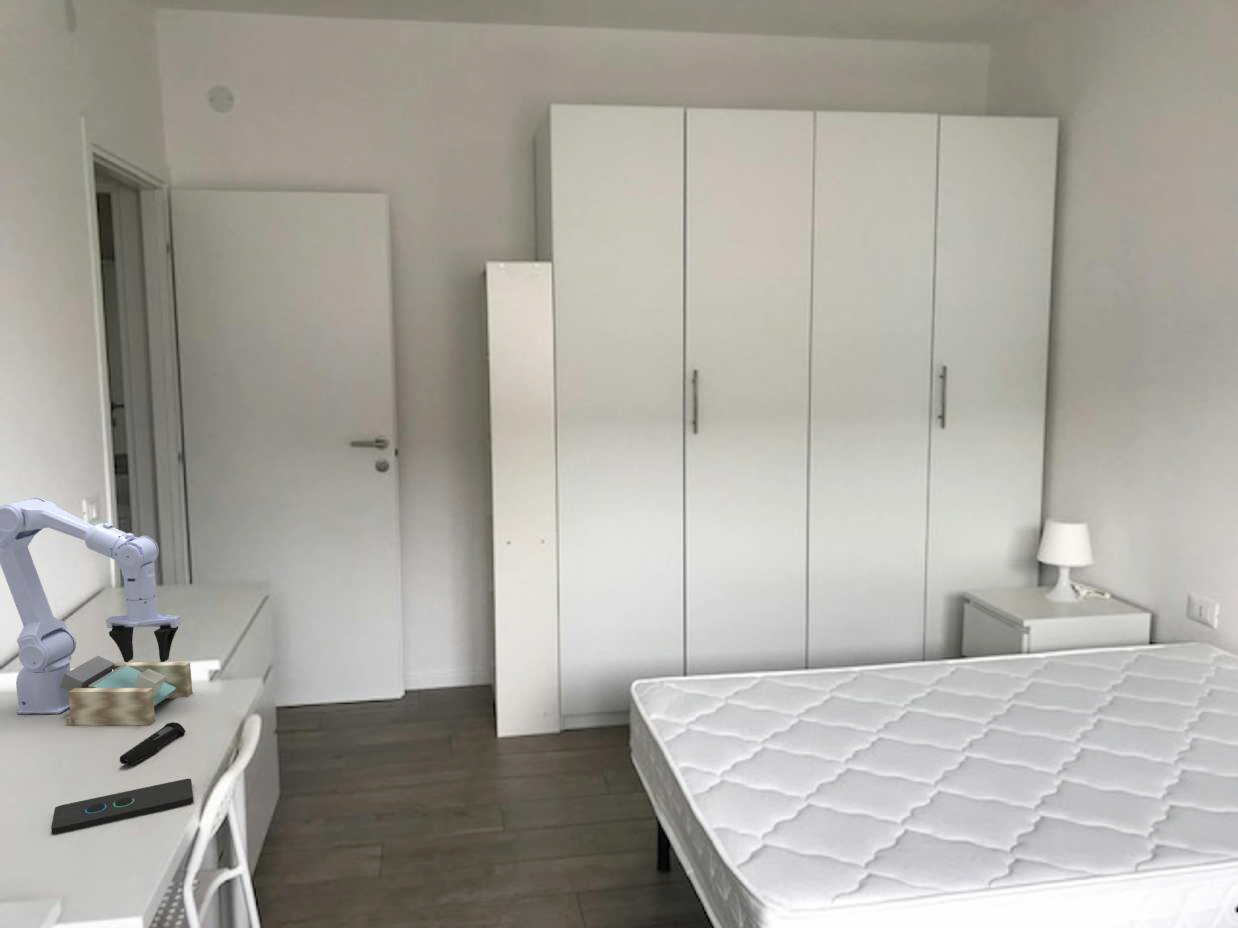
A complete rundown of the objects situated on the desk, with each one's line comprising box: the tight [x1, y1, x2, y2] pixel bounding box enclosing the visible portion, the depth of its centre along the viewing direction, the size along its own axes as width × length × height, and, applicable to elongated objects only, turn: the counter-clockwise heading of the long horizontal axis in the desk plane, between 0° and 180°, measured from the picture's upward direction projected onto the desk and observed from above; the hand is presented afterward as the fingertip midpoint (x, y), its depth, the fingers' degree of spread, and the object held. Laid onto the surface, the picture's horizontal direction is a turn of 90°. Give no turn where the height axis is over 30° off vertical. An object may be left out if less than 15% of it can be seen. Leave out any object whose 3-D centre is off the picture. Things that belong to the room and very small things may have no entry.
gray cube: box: [133, 668, 166, 697], centre depth 189 cm, size 4×4×4 cm
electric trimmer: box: [119, 721, 186, 765], centre depth 170 cm, size 4×16×3 cm, turn 171°
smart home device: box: [50, 778, 194, 836], centre depth 149 cm, size 8×2×20 cm
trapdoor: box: [60, 655, 177, 707], centre depth 190 cm, size 18×12×4 cm, turn 88°
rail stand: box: [65, 661, 193, 726], centre depth 190 cm, size 17×17×7 cm
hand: (146, 660), depth 189 cm, fingers open, 7 cm apart
